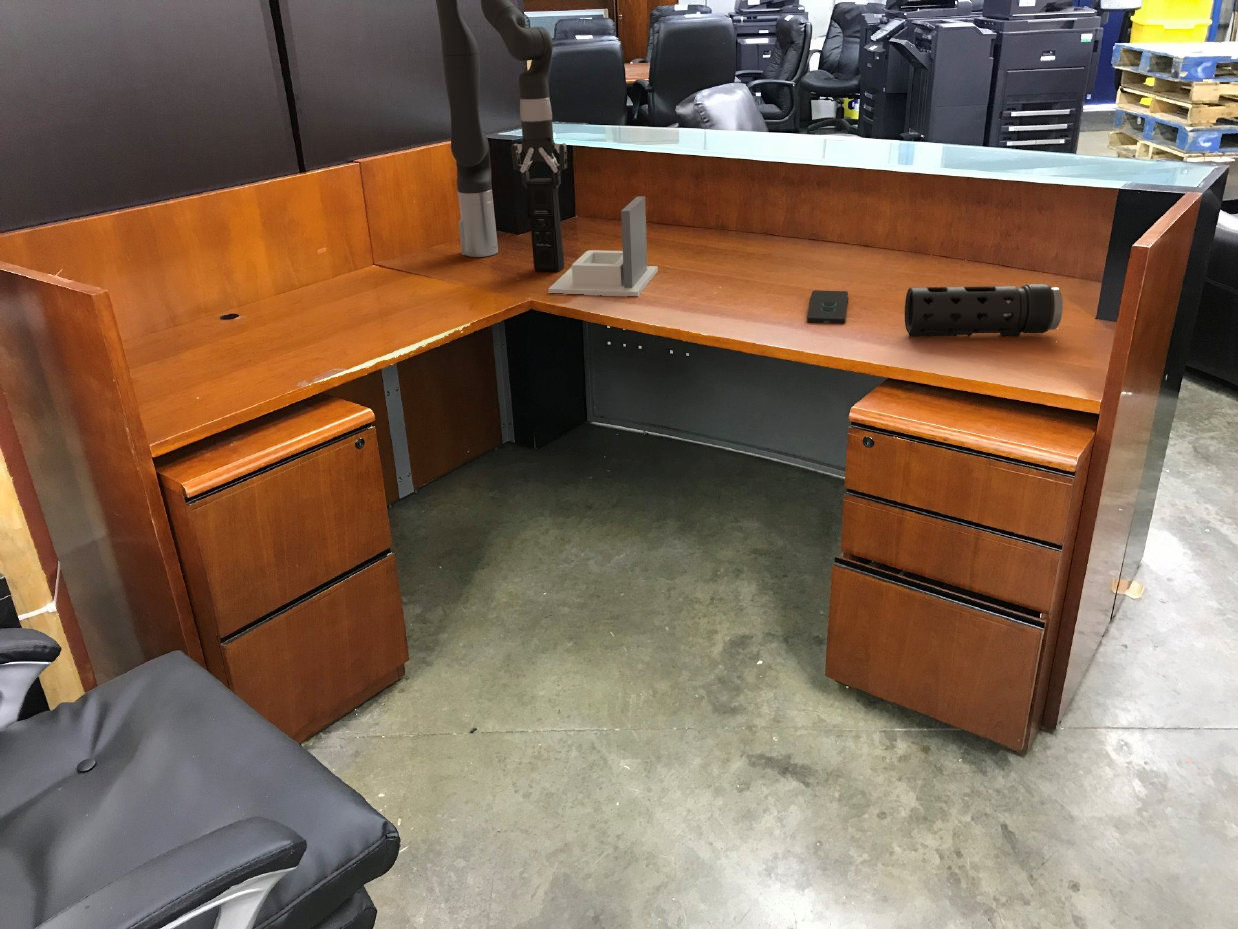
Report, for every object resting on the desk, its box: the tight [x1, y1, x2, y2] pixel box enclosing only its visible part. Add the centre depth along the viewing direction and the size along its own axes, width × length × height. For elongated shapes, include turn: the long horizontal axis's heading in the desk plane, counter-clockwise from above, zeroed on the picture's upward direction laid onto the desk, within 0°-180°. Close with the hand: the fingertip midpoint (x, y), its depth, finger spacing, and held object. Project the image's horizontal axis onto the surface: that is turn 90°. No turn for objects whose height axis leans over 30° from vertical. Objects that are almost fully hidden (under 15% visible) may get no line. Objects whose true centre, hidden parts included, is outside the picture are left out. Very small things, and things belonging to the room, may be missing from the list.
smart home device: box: [806, 289, 849, 325], centre depth 210 cm, size 8×2×20 cm
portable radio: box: [526, 168, 565, 272], centre depth 243 cm, size 8×6×25 cm
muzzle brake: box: [904, 283, 1064, 338], centre depth 189 cm, size 10×28×10 cm, turn 85°
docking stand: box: [547, 196, 659, 297], centre depth 232 cm, size 22×22×19 cm
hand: (541, 187), depth 239 cm, fingers closed on portable radio, 7 cm apart
